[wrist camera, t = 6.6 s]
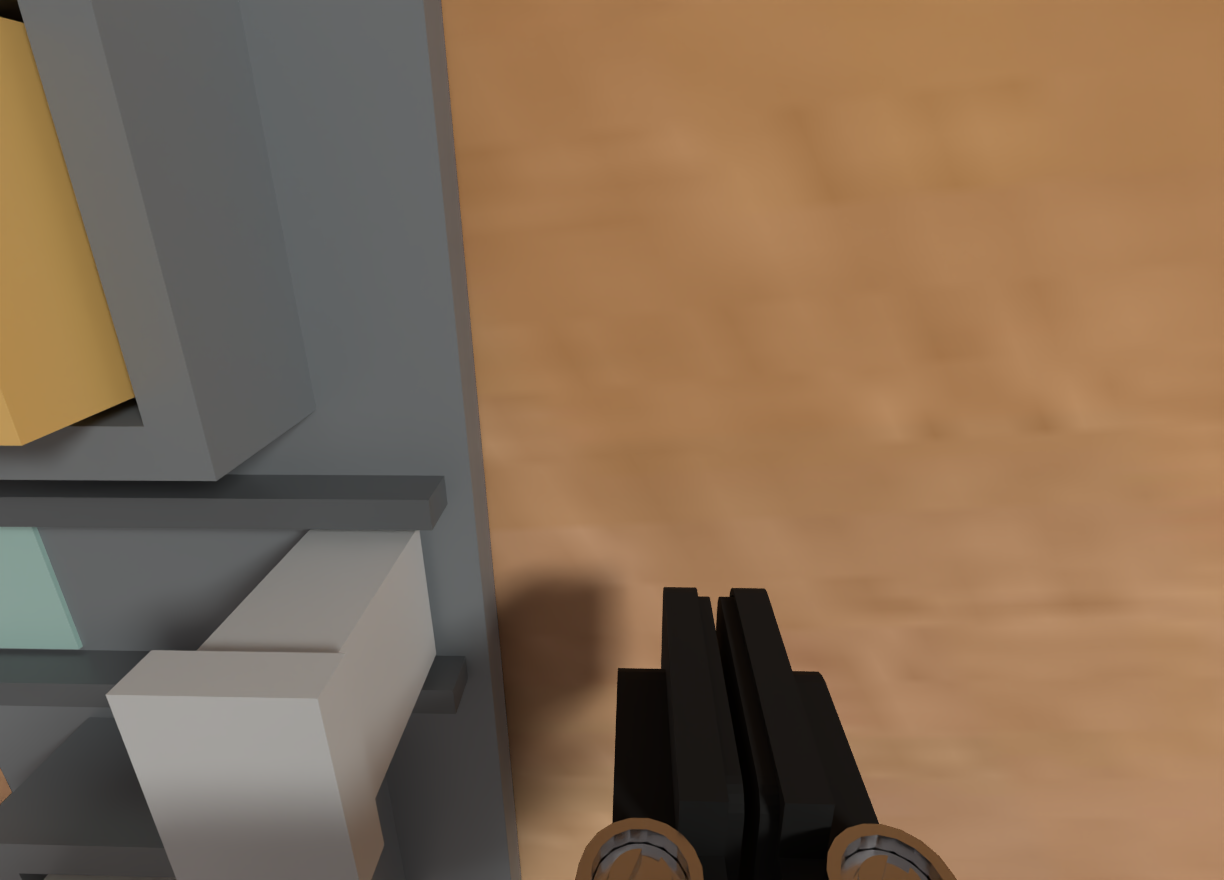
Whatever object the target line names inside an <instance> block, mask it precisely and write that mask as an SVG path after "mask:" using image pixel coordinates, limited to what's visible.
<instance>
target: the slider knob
mask: <svg viewBox="0 0 1224 880" xmlns="http://www.w3.org/2000/svg"><path fill="white" fill-rule="evenodd" d="M435 656H436V648H435V640H434V633H433V626H432V619H431V611H430V604H429V597H428V589H427V582H426V575H425V568H424V560H423V553H422V546H421V539H420V531H419V530H322V529H310V530H309V531H308V532H307V533H306V534H305V535H304V536H303V537H302V538H301V540H300V541H299V542H298V543H297V544H296V545H295V546H294V547H293V548H292V549H291V550H290V551H289V552H288V553H287V554H286V556H285V557H284V558H283V559H282V560H281V561H280V562H279V563H278V564H277V565H276V566H275V567H274V568H273V569H272V571H271V572H270V573H269V574H268V575H267V576H266V577H265V578H264V579H263V580H262V581H261V582H260V583H259V584H258V585H257V587H256V588H255V589H254V590H253V591H252V592H251V593H250V594H249V595H248V596H247V597H246V598H245V599H244V600H243V601H242V603H241V604H240V605H239V606H238V607H237V608H236V609H235V610H234V611H233V612H232V613H231V614H230V615H229V616H228V618H227V619H226V620H225V621H224V622H223V623H222V624H221V625H220V626H219V627H218V628H217V629H216V630H215V631H214V632H213V634H212V635H211V636H210V637H209V638H208V639H207V640H206V641H205V642H204V643H203V644H202V645H201V646H200V647H199V649H198V650H197V651H175V650H151V651H150V652H149V653H148V654H147V655H146V656H145V657H144V658H143V659H142V660H141V661H140V662H139V663H138V664H137V665H136V666H135V667H134V668H133V669H132V670H131V671H130V672H129V673H128V674H126V675H125V676H124V677H123V678H122V679H121V680H120V681H119V682H118V683H117V684H116V685H115V686H114V687H113V688H112V689H111V690H110V691H109V692H108V693H107V694H106V697H107V700H108V703H109V705H110V708H111V710H112V713H113V716H114V718H115V721H116V723H117V726H118V729H119V731H120V734H121V736H122V739H123V742H124V744H125V747H126V749H127V752H128V755H129V757H130V760H131V762H132V765H133V768H134V770H135V773H136V775H137V778H138V781H139V783H140V786H141V788H142V791H143V794H144V796H145V799H146V801H147V804H148V807H149V809H150V812H151V814H152V817H153V820H154V822H155V825H156V827H157V830H158V833H159V835H160V838H161V840H162V843H163V846H164V848H165V851H166V853H167V856H168V859H169V861H170V864H171V866H172V869H173V872H174V874H175V877H176V879H177V880H371V879H372V876H373V874H374V871H375V868H376V866H377V863H378V860H379V858H380V855H381V852H382V850H383V847H384V841H383V836H382V831H381V826H380V821H379V816H378V811H377V806H376V801H375V798H376V796H377V793H378V791H379V788H380V786H381V784H382V781H383V779H384V777H385V774H386V772H387V770H388V767H389V765H390V762H391V760H392V758H393V755H394V753H395V751H396V748H397V746H398V743H399V741H400V739H401V736H402V734H403V732H404V729H405V727H406V725H407V722H408V720H409V717H410V715H411V713H412V710H413V708H414V706H415V703H416V701H417V698H418V696H419V694H420V691H421V689H422V687H423V684H424V682H425V680H426V677H427V675H428V672H429V670H430V668H431V665H432V663H433V661H434V658H435Z"/></svg>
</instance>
